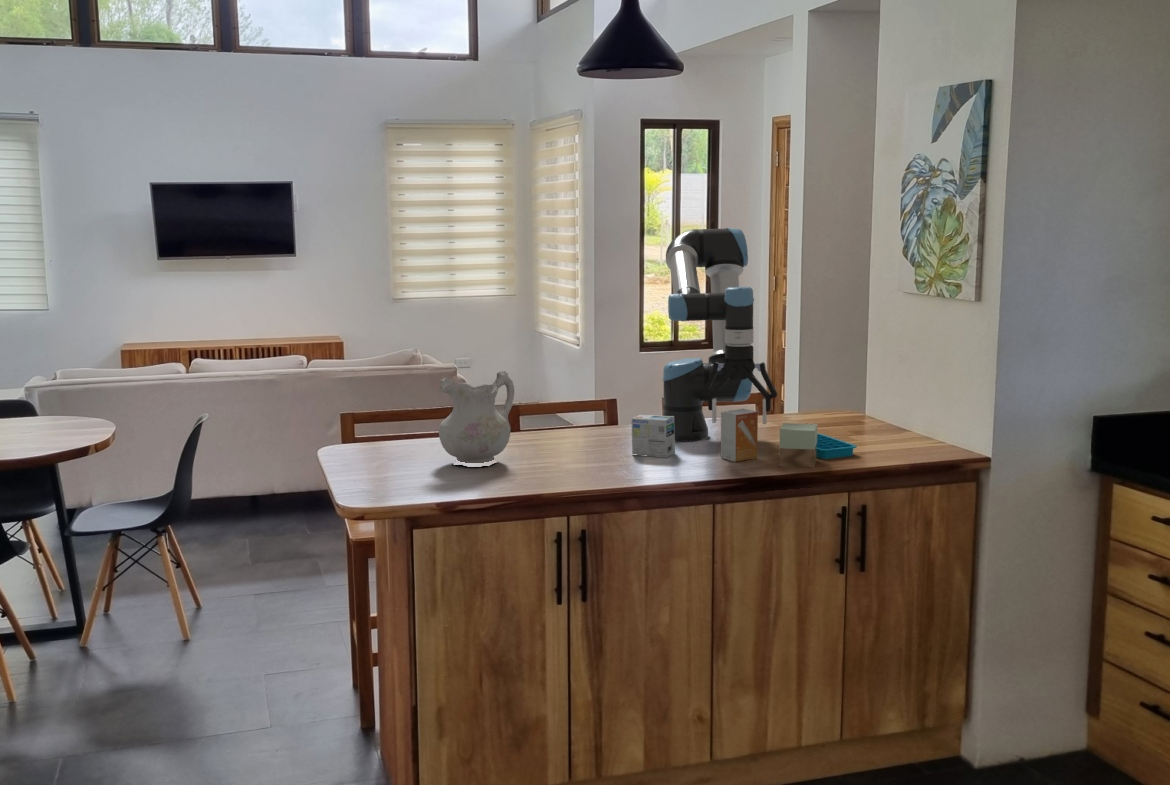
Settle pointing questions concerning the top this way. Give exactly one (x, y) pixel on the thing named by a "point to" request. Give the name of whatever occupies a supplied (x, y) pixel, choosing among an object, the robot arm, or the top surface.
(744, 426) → the small box
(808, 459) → the walnut block
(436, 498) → the top surface
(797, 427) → the sage block
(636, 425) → the light bulb box
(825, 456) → the ice cube tray
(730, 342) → the robot arm
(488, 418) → the ceramic pitcher
